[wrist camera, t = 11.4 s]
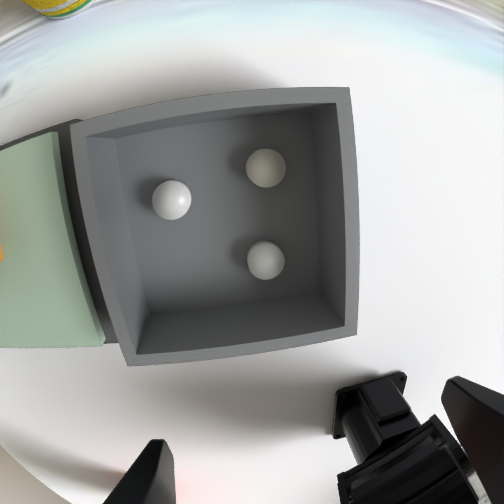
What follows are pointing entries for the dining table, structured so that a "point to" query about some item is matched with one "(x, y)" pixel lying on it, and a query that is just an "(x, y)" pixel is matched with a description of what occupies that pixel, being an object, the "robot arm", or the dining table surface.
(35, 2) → the supplement bottle
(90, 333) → the lid
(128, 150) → the tub
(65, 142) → the mat
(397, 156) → the dining table surface
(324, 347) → the dining table surface
